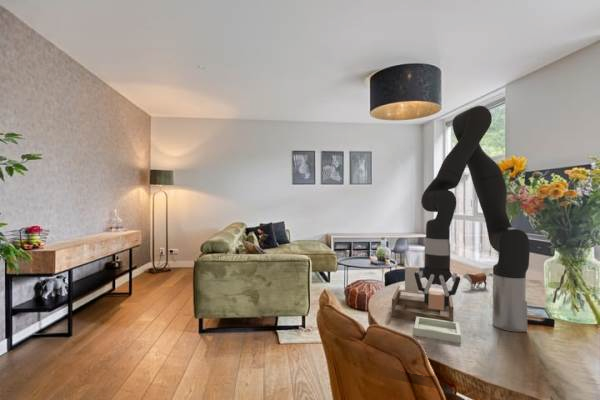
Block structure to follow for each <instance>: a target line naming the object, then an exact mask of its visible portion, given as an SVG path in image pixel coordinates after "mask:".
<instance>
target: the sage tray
mask: <svg viewBox="0 0 600 400" xmlns="http://www.w3.org/2000/svg"><path fill="white" fill-rule="evenodd" d="M413 327H414V328H413V330H414V331H413V336H416V337H421V338H429V339H434V340H439V341H440V340H441V341H447V342H450V343H451V342H453V343H458V344H462V335H461V334H462V333H461V327H460V323H459V322H457V321H453V322H451V321H444V320H437V319H430V318H424V317H417V316H416V321H415V322H414V326H413Z"/></svg>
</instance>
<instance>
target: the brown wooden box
mask: <svg viewBox="0 0 600 400" xmlns="http://www.w3.org/2000/svg"><path fill="white" fill-rule="evenodd" d="M400 286H401V285H398V286H397V288H396V290H395V292H394V294H393V295H392V298H391V318H395V319H400V320H407V321H416V316H417V317H424V318H430V319H437V320H444V321H451V322H454V302H453V295H450V296H449V305H448V306H446V308H444V310H438V309H431V308H428V305H427V303H425V302H424V296H422V297H421V296H416V295H408V294H407V295H404V294H401V293H402V292H399V288H400Z"/></svg>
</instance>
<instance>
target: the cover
mask: <svg viewBox="0 0 600 400" xmlns="http://www.w3.org/2000/svg"><path fill="white" fill-rule="evenodd" d="M416 271H418V272H420V266H412V265H411V266H410V265H405V266H404V284H400V285H399V286H400V288H399V292H401V293H408V294H417V295H422V296H423V295H424V292H422V291H419V290H418V286H417V282H416V279H415V275H414V274H415V272H416ZM423 287H424V288H425V287H426V286H423ZM429 290H430V291H438V292H444V291H443V288H437V287H430V289H429ZM444 295H445V294H444Z"/></svg>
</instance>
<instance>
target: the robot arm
mask: <svg viewBox="0 0 600 400" xmlns="http://www.w3.org/2000/svg"><path fill="white" fill-rule="evenodd" d="M492 117H493V116H492V113H491V111H490V110H489V108H488V107H486V106H484V105H475V106H472V107H469V108H467V109H465V110H464V111H462V112H460V113H458V114H456V115H455V116H454V117H453V119H452V131H453V135H454V136H455V138H456V140H457V142H456V144H455V146H454V147H453V148H451V150H450V151H449V153H448V154H447V155H446V157H445V158H444V159H443V161H442V163H441V165H440V168H439V170H438V172H437V175H436V176H435V178H434V179H433V180H432V181H431V183H430V184H428V186H427V187H426V189H425V190H424V192H423V193H422V196H421V206H422V208H423V210H425V211H426V212H429V213H437V214H436V216H435V217H434V218H431V219H429V220H428V221H426V224H425V240H424V241H425V242H424V249H423V251H424V265H423V267H424V268H423V269H422V270H419V272H418V271H416V272H415V274H414V275H415V279H416V282H417V286H418V290H419V291H422V292H424V296H423V298H424V302H425V303H427V305H429V289H430V288H432V287H431V286H432V285H438V286H441V289H443V291H444V294H445V295H444V308H446V306H448V305H449V296H450V295H452V296H455V295H456V293H457V290H458V287H459V285H460V282H461V276H460V275H455V274H453V273H452V272H451V240H450V237H451V234H450V233H451V224H452V221H453V217H454V215H455V212H456V209H457V197H456V195H455V193H454V192H453V191H452V189H455V188H457V187H458V186H459V185H460V184H459V183H460V181H461V180H462V176H463V174H464V172H465V171H466V167H467V168H468V171H469V174H470V177H471V181H472V184H473V187H474V191H475V194H476V196H477V198H478V202H479V205H480V208H481V211H482V214H483V217H484V222H485V226H486V230H487V231H486V232H487V237H488V240H489V241H488V242H489V243H490V246H491V248H492V249H493V250H495V251H496V252H498V258H497V263H495V264H494V265H493V268H492V325H493V326H494V327H496V328H498V329H500V330H504V331H509V332H514V333H516V332H517V333H522V332H523V333H527V332H528V301H526V278H527V277H526V276H527V275H526V274H527V271H528V270H529V266H530V253H531V251H530V250H531V242H530V239H529V236H528V234H527V233H526V232H525V231H524V230H522V229H521V228H520V229H519V228H516V227H512V224H511V222H510V219H509V217H508V216H509V215H508V213H507V212H508V211H507V196H508V195H507V194H508V189H507V188H508V187H507V184H506V180H505V177H504V174H503V171H502V169H501V166H499V165H498V163H497V162H496V161H494V159H493V158H491V156H489V155H488V154H487V153H486V152H485V151H484V150H483V149H482V148H483V147H482V146H481V144H480V142H481V141H482V139H483V138H484V136H485V135H486V133H487V132H488V130H489V129H490V127H491V124H492V122H493V121H492V119H493V118H492ZM423 276H424V277H425V279H426V280H427V282H426V285H425V286H423V283H422V280H421V279H422V278H423ZM450 279H451V281H452V282H453V284H452V287H451V289H448V285H447V282H448V281H449V280H450ZM424 287H425V288H424Z"/></svg>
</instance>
